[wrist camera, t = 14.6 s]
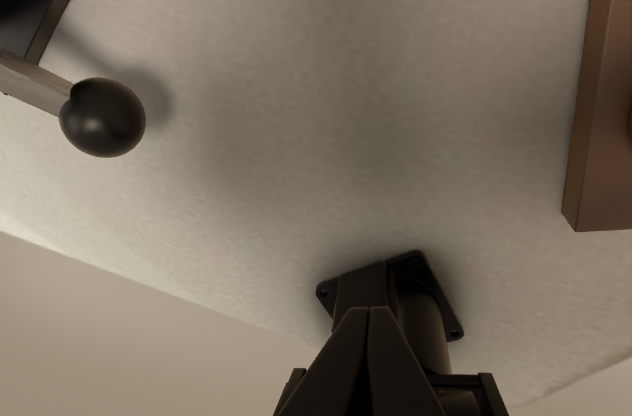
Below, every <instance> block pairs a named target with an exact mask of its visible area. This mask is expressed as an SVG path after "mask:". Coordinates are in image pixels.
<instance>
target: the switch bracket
mask: <svg viewBox="0 0 632 416" xmlns="http://www.w3.org/2000/svg"><path fill="white" fill-rule="evenodd" d="M68 1H69V0H0V47H1V48H3V49H5V50H7V51H9V52H11V53H13V54H15V55H17V56H19V57H21V58H23V59H25V60H27V61H29V62H31V63H33V64H35V65H37V63H38V61H39V59H40V57H41V55H42V53H43V51H44V49H45V47H46V45H47V43H48V41H49V39H50V37H51V35H52V33H53V31H54V29H55V27H56V25H57V23H58V21H59V19H60V17H61V15H62V13H63V11H64V9H65V7H66V5H67V3H68ZM2 93H3V92H2ZM4 94H5V95H8V94H6V93H4Z"/></svg>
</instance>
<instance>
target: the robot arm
mask: <svg viewBox="0 0 632 416" xmlns="http://www.w3.org/2000/svg"><path fill="white" fill-rule="evenodd" d="M414 259H419V260H420V261H418V262H413V261H412V260H414ZM323 290H325V291H327V292H326V293H325V292H322V291H323ZM316 296H317V298H318V299H319V301H320V302H321V304H322V305H323V306H324V308H325V309H326V311H327V312H328V314H329V315H330V317H331V318H332V319H333V322H332V329H331V331H332V335H331V336H330V338H329V339H328V341H327V342H326V344H325V345H324V347H323V348H322V350H321V351H320V353H319V354H318V356H317V357H316V358H315V360H314V362H313V363H312V364H311V366H310V367H309V369H308V370H307V371H306V369H305V368H294V370H293V372H292V374H291V377H290V379H289V381H288V382H287V383H286V386H285V388H284V390H283V393H282V395H281V397H280V400H279V402H278V405H277V407H276V409H275V412H274V414H273V416H509V415H508V412H507V410H506V407H505V405H504V402H503V400H502V398H501V395H500V393H499V390H498V388H497V385H496V383H495V380H494V378H493V376H492V373H478V375H461V374H452V372H451V366H450V359H449V353H448V347H447V343H448V342H451V341H455V340H459V339H461V338H462V337H463V336H464V332H463V327H462V325H461V323H460V321H459V319H458V317H457V315H456V313H455V311H454V309H453V308H452V306H451V304H450V302H449V300H448V298H447V296H446V294H445V292H444V290H443V289H442V287H441V285H440V283H439V281H438V279H437V277H436V275H435V273H434V271H433V269H432V268H431V266H430V264H429V262H428V260H427V258H426V256H425V255H424V253H423V252H421V251H411V252H408V253H405V254H402V255H400V256H397V257H394V258H391V259H388V260H385V261H382V262H381V261H380V262H377V263H374V264H371V265H368V266H365V267H362V268H359V269H356V270H354V271H351V272H348V273H345V274H342V275H340V276H339V277H336V278H333V279H330V280H328V281H325V282H322V283H320V284H318V285H317V288H316ZM452 331H456V332H452Z"/></svg>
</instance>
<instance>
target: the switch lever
mask: <svg viewBox="0 0 632 416" xmlns="http://www.w3.org/2000/svg"><path fill="white" fill-rule="evenodd" d="M0 91H1V92H3V93H6V94H8V95H10V96H12V97H15V98H17V99H19V100H21V101H24V102H26V103H28V104H30V105H33V106H35V107H37V108H39V109H42V110H44V111H46V112H48V113H50V114H53V115H55V116H57V117H59V123H60V126H61V129H62V131H63V133H64V135H65V136H66V138H67V139H68V140H69V141H70V142H71V143H72V144H73V145H74V146H75V147H76V148H78V149H79V150H81V151H82V152H84V153H87V154H89V155H92V156H96V157H103V158H110V157H117V156H120V155H123V154H125V153H127V152H129V151H130V150H132V149H133V148H134V147H135V146H136V145H137V144H138V143H139V142H140V140H141V138H142V137H143V134H144V132H145V127H146V115H145V111H144V108H143V105H142V103H141V101H140V100H139V98H138V97H137V96H136V95H135V93H134V92H133V91H132V90H130V89H129V88H128V87H127V86H125V85H123V84H122V83H120V82H118V81H115V80H112V79H108V78H98V77H97V78H89V79H85V80H82V81H80V82H78V83H76V84H73V83H71V82H69V81H67V80H65V79H63V78H61V77H59V76H57V75H55V74H53V73H51V72H49V71H47V70H45V69H43V68H41V67H39V66H37V65H35V64H33V63H31V62H29V61H27V60H25V59H23V58H21V57H19V56H17V55H15V54H13V53H11V52H9V51H7V50H5V49H3V48H1V47H0Z"/></svg>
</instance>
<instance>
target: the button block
mask: <svg viewBox="0 0 632 416" xmlns="http://www.w3.org/2000/svg"><path fill="white" fill-rule="evenodd" d="M562 214H563V216H564V217H565V218H566V220H567V221H568V223H569V224H570V226H571V227H572V229H573V230H574V231H575V232H589V231H606V230H624V229H632V0H590V6H589V14H588V21H587V29H586V36H585V44H584V51H583V59H582V66H581V73H580V81H579V88H578V96H577V103H576V111H575V118H574V126H573V133H572V141H571V148H570V155H569V163H568V170H567V178H566V185H565V193H564V200H563V208H562Z"/></svg>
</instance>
